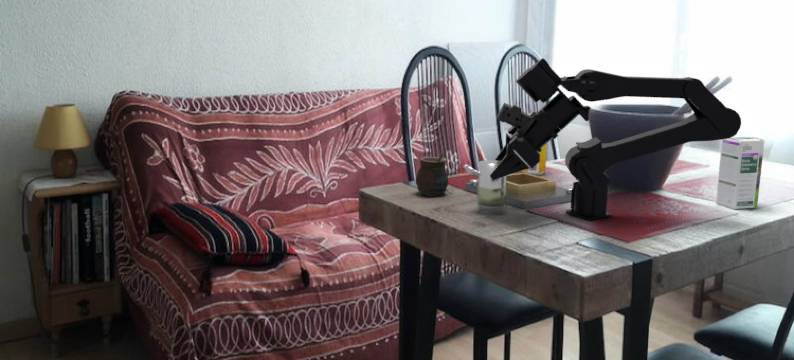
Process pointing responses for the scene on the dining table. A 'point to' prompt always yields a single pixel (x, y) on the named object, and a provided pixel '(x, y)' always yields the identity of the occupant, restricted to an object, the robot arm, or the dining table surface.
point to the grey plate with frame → (529, 191)
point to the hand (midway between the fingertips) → (491, 173)
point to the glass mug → (489, 188)
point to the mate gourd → (432, 176)
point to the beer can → (541, 166)
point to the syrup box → (740, 172)
